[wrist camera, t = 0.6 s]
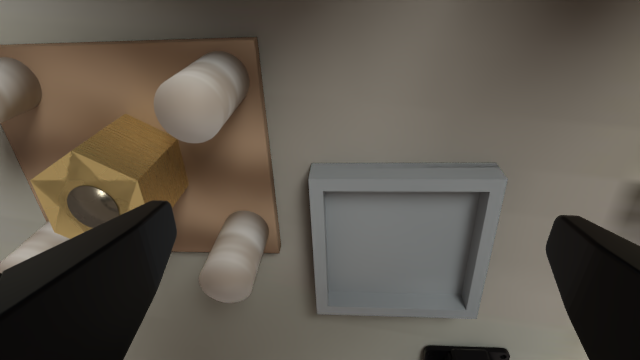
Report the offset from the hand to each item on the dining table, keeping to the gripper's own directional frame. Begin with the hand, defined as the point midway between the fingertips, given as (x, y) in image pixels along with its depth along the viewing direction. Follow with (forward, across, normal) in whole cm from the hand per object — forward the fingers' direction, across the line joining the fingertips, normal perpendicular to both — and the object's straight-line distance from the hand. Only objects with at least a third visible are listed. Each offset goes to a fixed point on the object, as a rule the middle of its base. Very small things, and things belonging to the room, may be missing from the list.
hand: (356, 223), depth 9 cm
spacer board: (+14, +13, +5) cm, 20 cm away
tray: (+14, -3, +11) cm, 18 cm away
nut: (+13, +13, +5) cm, 19 cm away
